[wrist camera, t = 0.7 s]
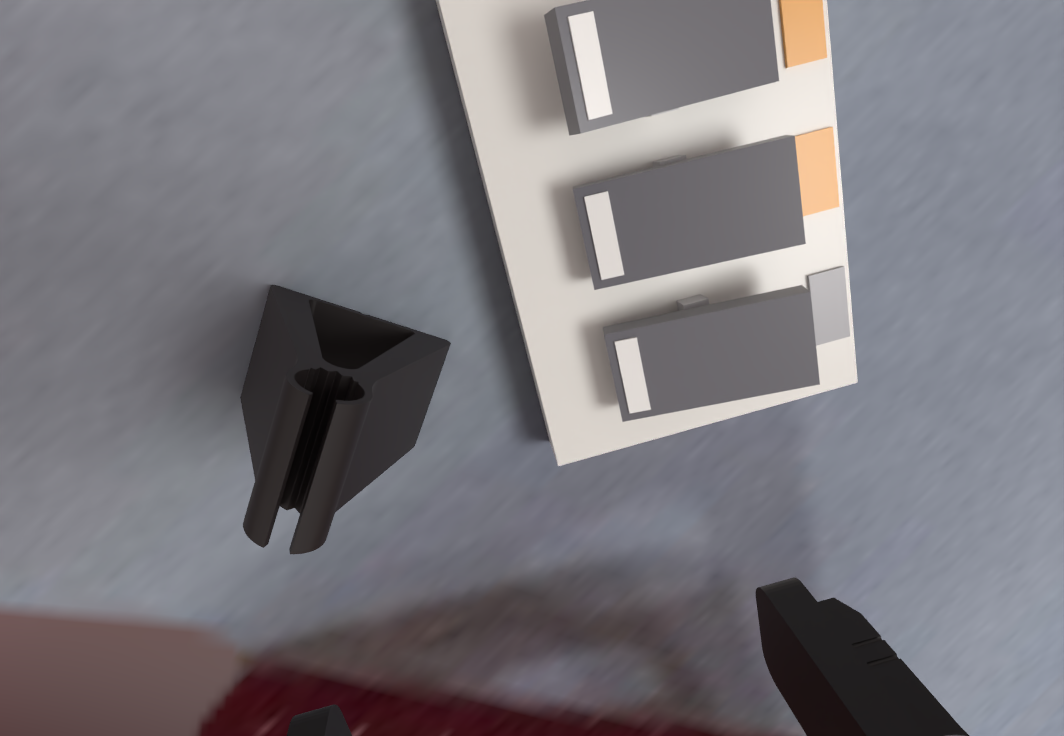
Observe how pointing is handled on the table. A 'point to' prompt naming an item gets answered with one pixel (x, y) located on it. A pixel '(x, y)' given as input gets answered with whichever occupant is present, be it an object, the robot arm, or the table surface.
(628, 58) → the rocker
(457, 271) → the table surface
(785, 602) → the robot arm
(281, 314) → the phone stand
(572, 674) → the table surface
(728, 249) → the block
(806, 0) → the switch unit
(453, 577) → the table surface
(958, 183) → the table surface
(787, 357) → the block
